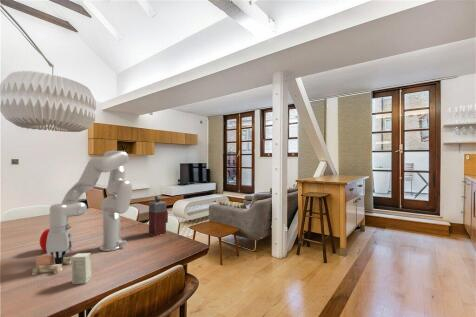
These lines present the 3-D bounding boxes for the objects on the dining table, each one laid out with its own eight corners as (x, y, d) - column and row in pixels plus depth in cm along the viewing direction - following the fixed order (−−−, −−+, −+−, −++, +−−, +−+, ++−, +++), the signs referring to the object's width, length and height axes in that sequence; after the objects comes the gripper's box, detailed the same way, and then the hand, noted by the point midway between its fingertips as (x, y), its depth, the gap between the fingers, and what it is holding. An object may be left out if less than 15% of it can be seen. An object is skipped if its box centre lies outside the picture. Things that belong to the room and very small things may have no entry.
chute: (73, 260, 127) (73, 255, 127) (57, 273, 113) (57, 267, 113) (51, 261, 125) (51, 256, 125) (32, 275, 111) (32, 268, 111)
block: (56, 265, 122) (56, 253, 122) (49, 270, 116) (49, 258, 116) (43, 265, 121) (43, 254, 121) (36, 271, 115) (36, 258, 115)
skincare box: (91, 278, 108) (91, 252, 108) (86, 284, 104) (86, 256, 104) (77, 279, 108) (77, 252, 108) (71, 284, 104) (71, 256, 104)
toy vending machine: (168, 232, 174) (169, 195, 174) (155, 236, 165) (155, 197, 165) (162, 230, 180) (162, 193, 180) (148, 233, 171) (148, 195, 171)
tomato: (35, 255, 133) (35, 230, 133) (45, 247, 144) (45, 224, 144) (60, 252, 137) (60, 228, 137) (69, 245, 148) (69, 223, 148)
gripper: (78, 225, 124) (78, 260, 124) (47, 226, 122) (47, 261, 122) (71, 230, 117) (71, 266, 117) (37, 231, 114) (37, 268, 114)
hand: (58, 264), depth 119 cm, fingers closed
